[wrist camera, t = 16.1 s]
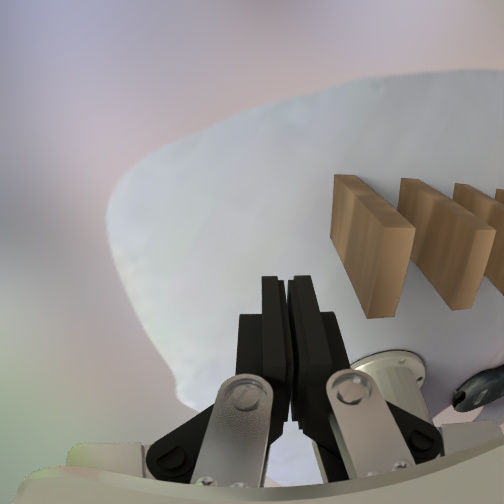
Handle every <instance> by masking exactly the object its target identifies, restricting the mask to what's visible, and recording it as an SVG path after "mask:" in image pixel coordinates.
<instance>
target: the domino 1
mask: <svg viewBox="0 0 504 504" xmlns="http://www.w3.org/2000/svg"><path fill="white" fill-rule="evenodd" d="M415 230H416V228H415V227H414V226H413V225H412V224H411V223H410V222H409V221H408V220H406V219H405V218H404V217H403V216H402V215H401V214H400V213H399V212H398V211H397V210H395V209H394V208H393V207H392V206H391V205H390V204H389V203H388V202H386V201H385V200H384V199H383V198H382V197H381V196H379V195H378V194H377V193H376V192H375V191H374V190H372V189H371V188H370V187H369V186H368V185H366V184H365V183H364V182H363V181H362V180H360V179H359V178H358V177H357V176H355V175H336V174H334V191H333V206H332V220H331V232H330V238H331V240H332V242H333V244H334V246H335V248H336V250H337V253H338V255H339V257H340V259H341V261H342V263H343V265H344V268H345V270H346V272H347V274H348V276H349V279H350V281H351V283H352V285H353V288H354V290H355V292H356V295H357V297H358V299H359V301H360V304H361V306H362V308H363V311H364V313H365V316H366V318H367V319H372V318H385V317H394V316H395V313H396V310H397V306H398V303H399V299H400V295H401V292H402V288H403V284H404V280H405V276H406V272H407V268H408V263H409V259H410V254H411V250H412V245H413V240H414V235H415Z"/></svg>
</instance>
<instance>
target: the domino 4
mask: <svg viewBox="0 0 504 504" xmlns="http://www.w3.org/2000/svg"><path fill="white" fill-rule="evenodd" d="M495 200H496V201H498V202H500V203H501V204H503V205H504V190H501V189H496V195H495Z"/></svg>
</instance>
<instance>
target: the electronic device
mask: <svg viewBox="0 0 504 504" xmlns="http://www.w3.org/2000/svg"><path fill="white" fill-rule="evenodd" d="M458 391H464V392H465V394H466V395H465V396H464V397H462V398H461V399H460V400H458V401H457V402H456V401H455V399H454V398H455V395H456V394H457V392H458ZM458 391H456V390H455V395H454V396H453V400H452V405H453V407H454V410H456V411H458V412H467V411H471V410H474V409H476V408H478V407H481V406H483V405H486V404H488V403H491V402H492V401H494V400H496V399H498V398H501V397H502V396H504V365H503V366H502V367H499V368H497V369H490V370H487V371H482V372H480V373H479V374H477V375H475V376H473V377H472V378H470V379H469V380H468V381H467V382H466V383H464V384H463V385H462V386H461V387H460V388H459V390H458Z"/></svg>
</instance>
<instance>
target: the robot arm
mask: <svg viewBox="0 0 504 504" xmlns="http://www.w3.org/2000/svg"><path fill="white" fill-rule="evenodd" d="M425 374H426V371H425V367H424V365H423V363H422V361H421V359H420V358H419V357H418V356H417V355H415V354H413V353H410V352H406V351H389V352H383V353H379V354H375V355H372V356H369V357H366V358H364V359H362V360H360V361H358V362H356V363H354V364H352V365H351V366H350V364H349V360H348V356H347V353H346V349H345V346H344V343H343V339H342V336H341V332H340V329H339V326H338V322H337V319H336V316H335V314H334V312H320V310H319V306H318V302H317V298H316V294H315V291H314V287H313V283H312V279H311V276H310V275H303V276H294V280H288V293H287V302H286V294H285V286H284V280H278V277H277V276H262V314H240V317H239V330H238V345H237V359H236V374H235V376H233V377H231V378H229V379H227V380H226V381H225V382H224V383H223V384H222V385H221V387H220V389H219V391H218V394H217V397H216V401H215V403H214V404H213V405H211V406H210V407H208V408H207V409H205V410H204V411H202V412H201V413H199V414H198V415H196V416H195V417H194V418H192V419H190V420H189V421H187V422H186V423H184V424H183V425H181V426H180V427H178V428H177V429H175V430H173V431H172V432H170V433H169V434H167V435H166V436H164V437H162V438H161V439H159V440H157V441H156V442H155V443H154V444H152V445H142V443H82V444H78V445H76V446H74V447H72V449H71V450H70V451H69V452H68V455H67V459H66V466H58V467H48V468H44V469H40V470H37V471H34V472H33V473H31V474H30V475H28V476H27V477H26V478H25V479H24V480H23V482H22V483H21V484H20V486H19V488H18V490H17V492H16V494H15V496H14V498H13V501H12V503H11V504H504V435H503V433H502V430H501V428H500V427H499V425H498V424H497V423H495V422H493V421H489V420H484V421H476V422H466V423H454V424H442V425H441V426H440V427H435V426H434V424H433V421H432V418H431V416H430V413H429V411H428V408H427V405H426V403H425V400H424V398H423V395H422V393H421V391H420V387H421V386H422V384H423V382H424V379H425ZM290 402H291V414H292V421H298V426H299V430H300V429H303V434H305V435H306V436H308V437H309V438H311V439H312V446H313V449H314V452H315V456H316V459H317V463H318V466H319V469H320V473H321V476H322V479H323V483H324V484H316V485H305V486H292V487H270V488H264V483H265V478H266V472H267V466H268V460H269V454H270V448H271V444H272V443H273V442H274V441H275V440H277V439H278V438H279V437H280V436H281V435H282V433H283V425H284V422H287V421H288V413H289V405H290Z"/></svg>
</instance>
